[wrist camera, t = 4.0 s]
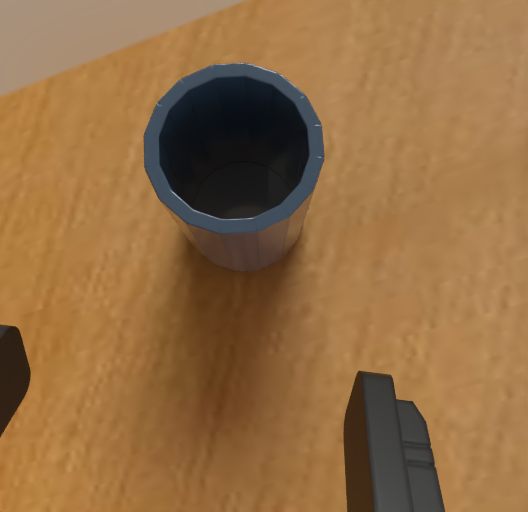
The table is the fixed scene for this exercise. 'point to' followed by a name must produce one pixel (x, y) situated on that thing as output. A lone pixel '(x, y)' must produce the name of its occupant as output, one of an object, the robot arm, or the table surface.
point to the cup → (235, 162)
